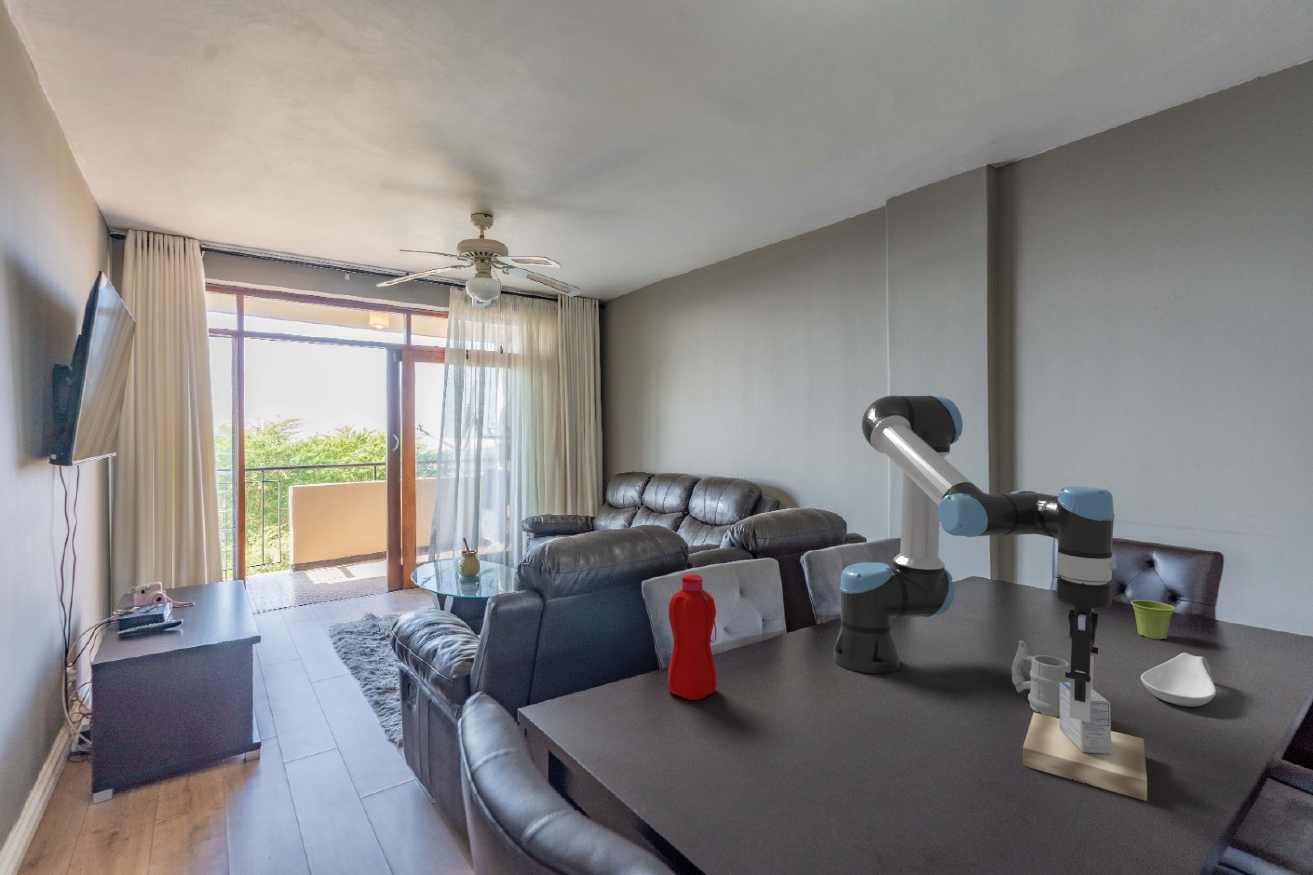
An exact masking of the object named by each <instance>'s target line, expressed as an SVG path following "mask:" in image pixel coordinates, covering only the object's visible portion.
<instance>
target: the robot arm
mask: <svg viewBox="0 0 1313 875" xmlns="http://www.w3.org/2000/svg"><path fill="white" fill-rule="evenodd" d="M963 426H964V425H963V418H962V413H961V412H960V410H959V408H958V406H956V404H955V402H954V401H952V400H951V399H949V398H948V397H945V396H936V395H935V396H934V395H931V394H930V395H887V396H884V397H880V398H878V399H876V400H874V401H873V402H872V403H871V404H870V405H869V406H868V407H867V408H866V410H865V412H864V413H863V416H862V421H861V428H862V429H861V430H862V433H863V436H864V438H865V440H866V442H867V443H868V444H869V446H871V448H872V449H874V450H875V451H877V452H878V453H880V454H886V456H887V457H889V459H891V461H892V462H893V463H894V464H895V465H896V466H898V468H899V469H900V470H901V471H902V472H903V475H902V477H903V478H902V497H901V498H902V500H901V522H900V523H901V524H900V532H901V533H900V546H899V547H900V550H899V551H900V552H899V553H898V554H897V555H895V556H894V557H893V563H892V564H893V565H892V567H891V566H890V565H889V564H887V563H883V562H869V561H868V562H867V561H865V562H860V563H859V562H858V563H854V564H850V565H848V566H846V567H845V568H844V569H843V570H842V571H841V576H840V577H841V578H840V584H839V588H840V629H839V632H838V635H837V638H836V642H835V644H834V647H833V660H834V662H835V663H836V664H838V665H839V666H841V667H843V668H846V669H848V670H851V671H855V672H859V673H866V674H887V673H893V672H895V671H897V670H899V668H900V654H899V651H898V648H897V644H896V642H895V639H894V636H893V633H892V628H893V627H892V624H893V623H892V621H893V620H892V619H898V618H899V619H900V618H917V617H918V618H919V617H920V618H921V617H923V618H930V617H933V616H939V615H943V614H945V612H947V611H949V609H950V608H951V607H952V605H953V603H954V599H955V594H956V585H955V582H954V581H953V577H952V574H951V573H950V572H949V570H947V569H946V567H945V565H946V563H945V562H944V561H943V560H941V558H940V557H939V547H940V546H939V544H940V543H939V542H940V526H941V528H942V529H943V531H945V533H947V534H949V535H951V536H956V537H957V536H958V537H965V538H973V537H974V538H975V537H987V536H989V537H990V536H1009V535H1010V536H1015V535H1019V536H1020V535H1039V536H1044V537H1049V538H1053V539H1057V552H1056V553H1057V555H1056V556H1057V557H1056V558H1057V560H1056V562H1057V564H1056V574H1058V575H1059V577H1058V578H1057V579H1056V580H1057V583H1056V587H1057V588H1056V596H1057V598H1058V599H1059V600H1060V601H1062V602H1063V603H1065V604H1071V605H1073V606H1074V609H1071V608H1070V609H1069V613H1068V623H1069V638H1070V639H1071V647H1070V648H1071V649H1070V650H1071V651H1070V673H1067V672H1065V678H1070V708H1069V717H1070V718H1074V719H1078V720H1082V721H1086V722H1090V702H1091V688H1092V689H1093V690H1094V668H1095V667H1094V661H1095V658H1094V654H1095V655H1099V647H1095V646H1094V645H1095V642H1096V632H1097V629H1098V623H1099V613H1096V612H1094V608H1098V609H1104V608H1108V607H1110V606H1111V605H1112V602H1113V600H1112V599H1113V585H1112V584H1111V583H1110V581H1111V580H1112V578H1113V577H1112V576H1113V575H1112V574H1113V573H1112V572H1113V571H1112V569H1113V570H1114V569H1117V568H1118V566H1117V563H1116V562H1112V561H1113V537H1114V536H1113V535H1114V523H1115V522H1114V520H1115V512H1114V511H1115V510H1114V498H1113V495H1112V492H1110V491H1109V490H1108V489H1104V488H1100V487H1087V486H1064V487H1061V488H1060V489H1059V490H1058V491H1059V493H1058V495H1053V494H1052V495H1051V494H1046V493H1041V492H1036V491H1033V490H1027V491H1026V490H1015V491H1014V490H1013V491H1011V492H1009V493H985V492H984V491H983V490H981V489H980V488H979V487H978V486H976V485H975V484H974V483H973V482H972V481H971V480H970V479H968V478H967V477H966V476H965V475H964V474H963V473H962V472H960V470H958V469H957V468H956V467H955V466H953V464H951V463H950V462H949V461H948V460H947V459H946V458H945V457H946V456H948V455H949V454H950V452H951V445H953V444H954V443H956V442H958V440H959V439H960V437H961V436H962V432H963ZM940 524H941V525H940Z"/></svg>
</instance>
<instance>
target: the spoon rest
mask: <svg viewBox="0 0 1313 875" xmlns="http://www.w3.org/2000/svg"><path fill="white" fill-rule="evenodd" d="M1140 681H1141V683H1142V684H1143V686H1144V688H1146V689H1147V690H1148V691H1149V692H1150V693H1151V694H1152V695H1153V696H1155V697H1156V698H1158V699H1160V700H1162V701H1164V702H1166V703H1169V704H1173V705H1176V706H1180V707H1190V708H1191V707H1200V706H1203V705H1206V704H1207V703H1210V702H1211V701H1212V700H1213V699H1214V698H1215V696H1216V693H1217V691H1216V690H1217V688H1216V686H1215V683H1214V682H1213V675H1212V671H1211V668H1210V665H1209V662H1208V661H1207V659H1206V658H1205V657H1204V656H1196V655H1192V654H1190V653H1188V652H1182V653H1180V654H1179V653H1178V655H1176V656H1174V657H1173V658H1171V659H1169V660H1167V661H1165V662H1163V663H1161V664H1159V665H1156V666H1154V667H1152V668H1150V669H1148V670H1146V671H1144V672H1143V673H1142V674H1141V676H1140Z"/></svg>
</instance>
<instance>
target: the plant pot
mask: <svg viewBox="0 0 1313 875" xmlns="http://www.w3.org/2000/svg"><path fill="white" fill-rule="evenodd" d="M1130 604H1131V605H1132V608H1133V611H1134V615H1135V623H1136V629H1137V634H1138V635H1139V636H1144V637H1145V638H1147V639H1153V640H1162V639H1164V640H1167V638H1168V633H1169V628H1170V622H1171V617H1172V615H1173V614H1174V611H1175V610H1176V607H1175V606H1173V605H1170V604H1167V603H1163V602H1159V601H1153V600H1145V599H1144V600H1143V599H1134V600H1130Z"/></svg>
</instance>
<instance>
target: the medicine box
mask: <svg viewBox="0 0 1313 875" xmlns="http://www.w3.org/2000/svg"><path fill="white" fill-rule="evenodd" d="M1059 698H1060V717H1059V719H1060V730H1061V731H1062V732H1063V733H1064V734H1065V735H1066V736H1067V737H1068V738H1069V739H1070V740H1071V741H1072V742H1073V743H1074V744H1075V745H1076V746H1077V747H1078V748H1079V749H1080V750H1081V751H1082V752H1086V753H1096V754H1108V755H1109V754H1111V731H1112V725H1111V724H1112V723H1111V722H1112V720H1111V719H1112V718H1111V702H1110V701H1109V700H1107V699H1106V698H1105V697H1104V696H1102V695H1101V694H1100V693H1098V691H1096V690H1095V689H1094V688H1093V689H1092V688H1091V702H1090V722H1086V721H1082V720H1078V719H1074V718H1070V717H1069V708H1070V682H1060V686H1059Z"/></svg>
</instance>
